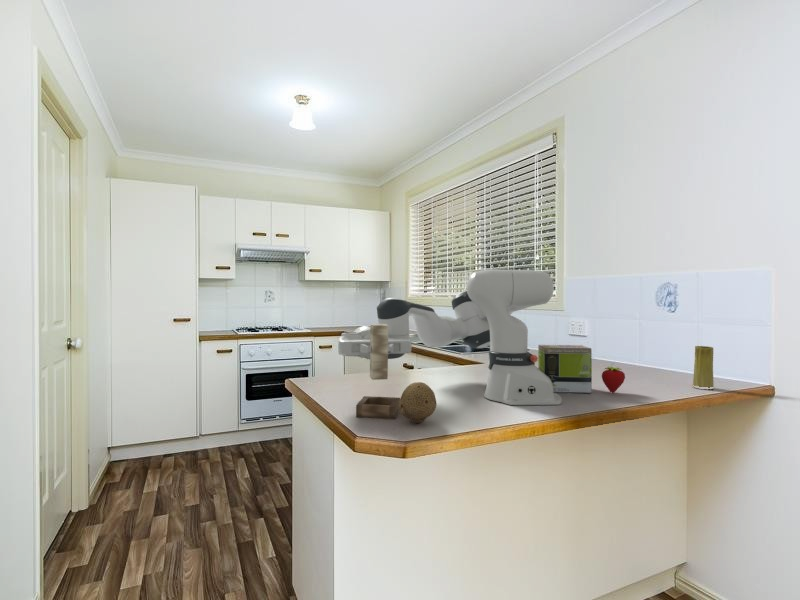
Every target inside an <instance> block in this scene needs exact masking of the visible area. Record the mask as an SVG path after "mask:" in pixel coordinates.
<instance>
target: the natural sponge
mask: <svg viewBox="0 0 800 600" xmlns="http://www.w3.org/2000/svg"><path fill="white" fill-rule="evenodd" d="M399 398H400V401H399V403H398V411H399V412H398V414H400V415H401V416H403V417H404V418H406V419H407V420H409V421H410V422H412V423H414V424H420V423H422V422H424V421H425V420H426V419H427V418H429V417H430V416H432V415H433V414H434V413H435V410H436V408H437V398H436V394H435V392H434V390H433V389H432V388H431V387H430V386H429V385H428V384H426V383H425V382H421V381H420V382H419V381H418V382H416V381H415V382H413V383H410V384H409V385H407V386H406V387H405V388H404V390H403V392H402V393H401V395H400V397H399Z"/></svg>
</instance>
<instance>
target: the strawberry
mask: <svg viewBox="0 0 800 600" xmlns="http://www.w3.org/2000/svg"><path fill="white" fill-rule="evenodd" d="M614 364H615V362H613V363H612V364H611V365H610V366H607V367H605V368H604V371H603V372H602V373H601V379H602V382H603V383H604V385H605V387H606V388H607V390H609V392H610V393H611V392H614V393H615V392H616V391H617V390H618V389H619V388H620V387H621V386H622V385H623V384H624V382H625V379H626V375H625V373H624V371H622V368H620V367H612V366H613V365H614Z"/></svg>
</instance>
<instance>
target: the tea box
mask: <svg viewBox="0 0 800 600" xmlns="http://www.w3.org/2000/svg"><path fill="white" fill-rule="evenodd" d="M537 348H538V349H537V352H538V354H537V357H538V359H537V360H538V362H537V363H538V364H537V366H538V367H537V368H538V369H539V370H541V371H542V372H543V373H544V374H545V375H547V376H548V377H549V378H550V380H551V381H552V384H553V389H554V393H578V394H579V393H581V394H583V393H584V394H585V393H586V394H591V393H592V390H593V389H592V386H593V385H592V383H593V382H592V380H593V379H592V377H593V375H592V374H593V373H592V371H593V369H592V368H593V367H592V366H593V365H592V364H593V363H592V360H593V359H592V357H593V355H592V348H591V347H588V346H585V345H583V344H538V347H537Z"/></svg>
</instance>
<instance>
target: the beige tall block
mask: <svg viewBox="0 0 800 600" xmlns="http://www.w3.org/2000/svg"><path fill="white" fill-rule="evenodd" d="M370 327H371V328H370V346H372V353H370V359H369V378H370V379H371V380H373V381H375V380H378V381H379V380H388V379H389V378H388V374H389V370H388V369H389V368H388V367H389V366H388V365H389V364H388V363H389V359H388V325H386V324H378V323H377V324H376V323H375V324H374V323H371V324H370Z"/></svg>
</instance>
